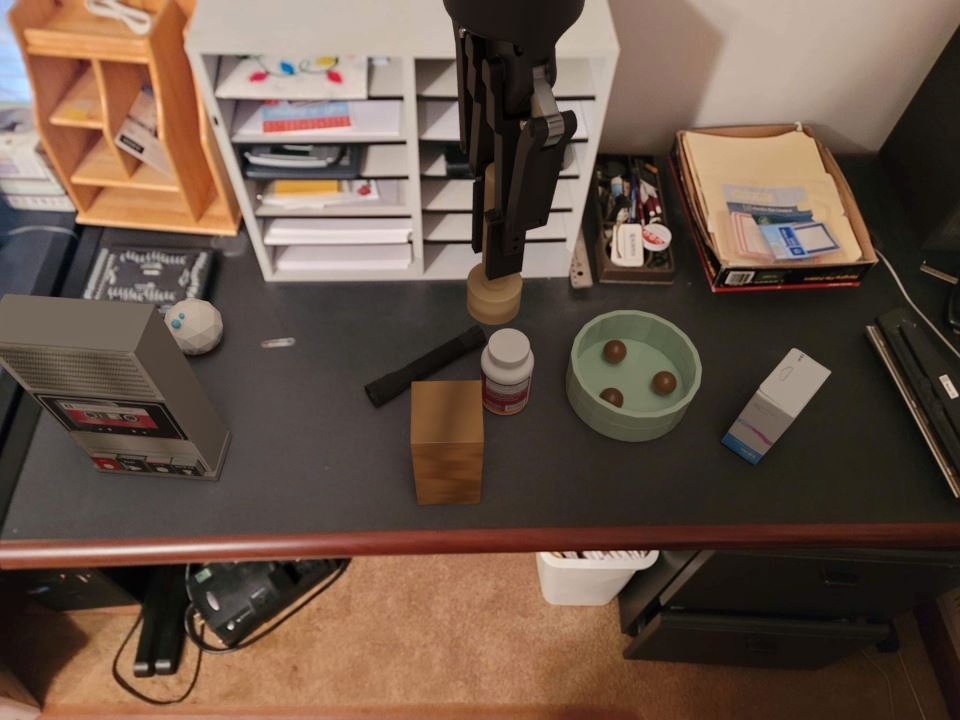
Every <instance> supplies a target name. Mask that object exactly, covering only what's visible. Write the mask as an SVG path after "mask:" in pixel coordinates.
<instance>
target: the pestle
mask: <svg viewBox="0 0 960 720" xmlns="http://www.w3.org/2000/svg"><path fill="white" fill-rule="evenodd" d="M493 208H494V162H493V163H491V164H490V165H489V166H488V167H487V168H486V172H485V196H484V212H486V211H488V210H489V209H493ZM486 243H487V223H486V220H485V217H484V221H483V245H482V252H481V262H479V263H478V264H476V265H474V266H473V267H472V268H471V269H470V271H469V272H468V274H467V279H466V308H467V310H468V313H469V314H470V316H471V317H472V318H473V319H474V320H476V321H478V322H479V323H482V324H485V325H489V326H499V325H504V324H508V323H509V322H510V321H512V320H513V319H514V318H515V317H516V316H517V315H518V313H519V311H520V309H521V299H522V291H523V277H522V274H521V272H519V273H515V274H512V275H508V276H505V277H501V278H498V279H494V280H490V281H489V280H488V279H487V277H486V275H485V265H486Z"/></svg>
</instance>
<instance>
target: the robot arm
mask: <svg viewBox="0 0 960 720" xmlns="http://www.w3.org/2000/svg"><path fill="white" fill-rule="evenodd" d="M442 4H443V7H444V9H445V12H446V13H447V15H448V16H449V18H450V20H451V24H452V31H453V39H454V42H455V43H454V44H455V45H454V46H455V64H456V65H455V67H456V68H455V69H456V87H457V107H458V108H457V110H458V130H459V149H460V150H461V152H462V153H463V155H468V154H469V160H468V170H469V173H470V174H471V175H470V176H472V178H473V179H474V181H472V200H471V201H472V202H471V203H472V204H471V206H472V207H471V209H472V210H471V250H472V251H473V254H474V255H476V254H482V245H483V221H484V217H485V220H486V223H487V243H486V265H485V275H486V277H487V279H488V280H489V281H490V280H494V279H498V278H501V277H505V276H508V275H512V274H515V273H522V272H523V266H524V257H525V255H524V254H525V250H526V249H525V247H526V238H527V231H528V232H529V231H532V230H535V229H539V228H542V227H546V226H547V225H548V221H549V217H550V213H551V209H552V205H553V201H554V197H555V193H556V189H557V185H558V182H559V176H560V173H561V169H562V165H563V161H564V157H565V153H566V148H567V146H568V145H569V143H570V141H571V140H572V138H573V137H574V136H575V134H576V132H577V131H578V118H577V115H576V112H575V111H574V110H573V109H568V110H563V111H561V110H559V107H558V103H557V100H556V98H555V96H554V92H553V90H552V89H554V87H555V85H556V83H557V77H558V68H557V67H558V65H557V48H556V46H557V43H558V41H560V39H561V37H562V36H563V35H564V34H565V33H566V32H567V31H568V30H570V28H572V26H574V25H575V24H576V22H577V21H578V20H579V19H580V17H581V16H582V13H583V11H584V8H585V4H586V0H442ZM493 162H494V208H493V209H489V210H488V211H486V212H484V196H485V172H486V168H487V167H488V166H489V165H490V164H491V163H493Z"/></svg>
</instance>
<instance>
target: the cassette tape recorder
mask: <svg viewBox="0 0 960 720" xmlns="http://www.w3.org/2000/svg"><path fill="white" fill-rule="evenodd" d="M164 319H165V318H163V316H162V314H161V312H160V311H159V309H158V307H157V305H156V304H154V303H140V302H139V303H138V302H125V301H114V300H112V301H111V300H110V301H109V300H98V299H85V298H84V299H83V298H70V297H58V296H57V297H56V296H44V295H29V294H17V293H4V295H3V297H2V298H1V299H0V365H1V366H2V367H3V368H4V370H6V371H7V373H9V374H10V376H12V377H13V379H15V381H16V382H17V383H18V384H19V385H20V386H21V387H22V388H23V389H24V390H25V391H26V392H27V393H28V394H29V395H30V396H31V397H32V398H33V399H34V400H35V401H36V402H37V403H38V404H39V405H40V406H41V407H42V408H43V410H44V411H46V413H48V414H49V416H50V417H51V418H53V420H54V421H55V422H56V423H57V424H58V425H59V426H60V427H61V428H62V429H63V430H64V431H65V432H66V433H67V434H68V435H69V436H70V437H71V438H72V439H73V440H74V441H75V442H76V443H77V444H78V445H79V446H80V447H81V448H82V449H83V451H85V452H86V453H87V455H89V458H90V460H92V461H93V462H94V464H93V469H94V470H95V471H96V472H97V473H110V474H111V473H112V474H122V475H123V474H124V475H135V476H136V475H137V476H149V477H150V476H151V477H162V478H173V479H174V478H175V479H189V480H200V481H215V482H218V481H219V480H220V479H219V478H220V476H221V472H222V470H223V465H224V463H225V459H226V457H227V453H228V449H229V447H230V443H231V439H232V437H233V435H232V433H231V430H228V429H227V428H226V426H225V424H224V422H223V421H222V418H221V417H220V415H219V413H218V412H217V410H216V408H215V406H214V405H213V403H212V402H211V400H210V397H209V396H208V394H207V392H206V391H205V389H204V388H203V385H202V384H201V382H200V380H199V378H198V377H197V375H196V374H195V372H194V370H193V368H192V367H191V365H190V363H189V361H188V360H187V357H186V356H185V353H182V351H181V349H180V347H179V346H178V344H177V342H176V340H175V339H174V337H173V335H172V333H171V332H170V330H169V328H168V326H167V325H166V323H165V321H164Z"/></svg>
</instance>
